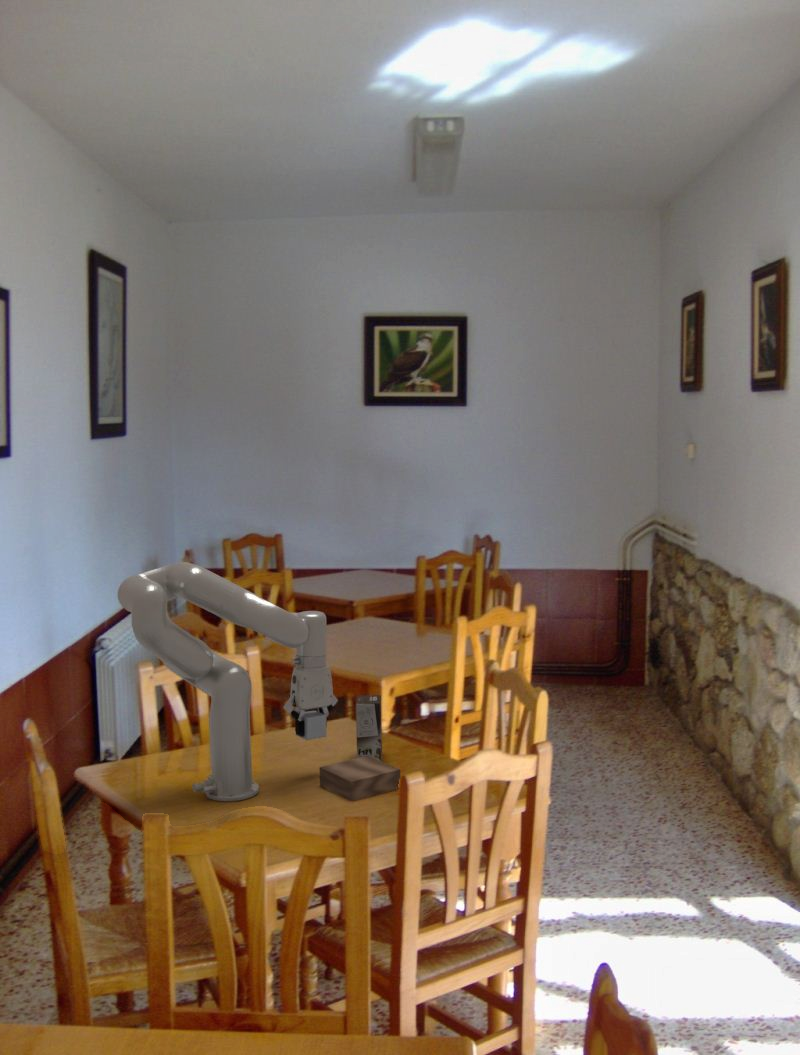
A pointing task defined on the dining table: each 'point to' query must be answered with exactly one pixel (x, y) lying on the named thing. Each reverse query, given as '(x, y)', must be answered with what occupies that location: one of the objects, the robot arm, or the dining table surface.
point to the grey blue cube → (314, 725)
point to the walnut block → (359, 777)
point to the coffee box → (369, 726)
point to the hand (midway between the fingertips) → (310, 732)
